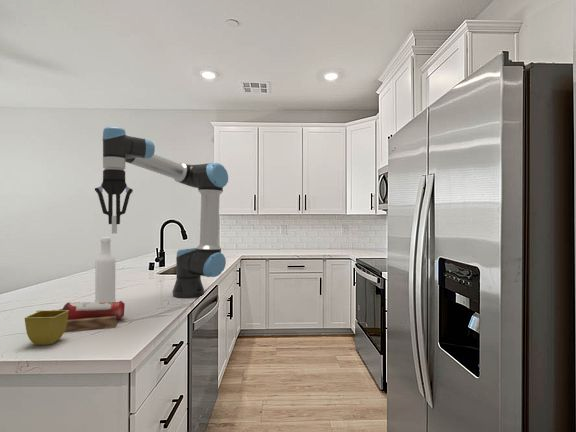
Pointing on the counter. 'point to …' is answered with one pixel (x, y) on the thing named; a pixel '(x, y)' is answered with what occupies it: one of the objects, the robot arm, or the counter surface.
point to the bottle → (105, 273)
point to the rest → (91, 323)
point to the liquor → (94, 309)
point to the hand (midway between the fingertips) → (114, 233)
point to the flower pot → (46, 326)
